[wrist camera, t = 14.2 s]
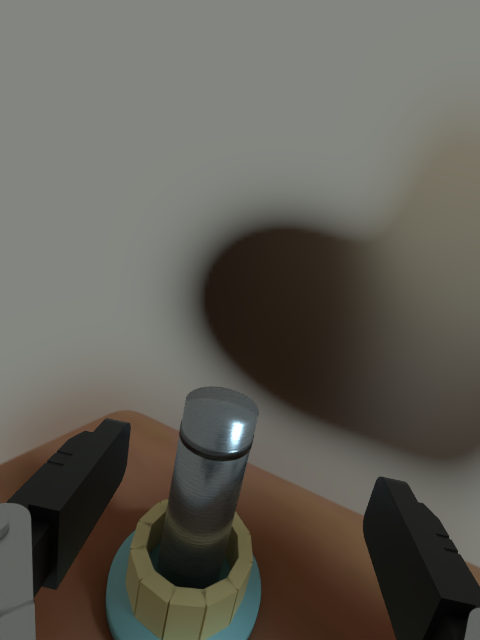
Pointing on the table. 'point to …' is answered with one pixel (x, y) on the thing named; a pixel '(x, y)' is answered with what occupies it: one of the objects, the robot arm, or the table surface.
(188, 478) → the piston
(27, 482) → the robot arm
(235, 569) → the ring collar
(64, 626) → the table surface
